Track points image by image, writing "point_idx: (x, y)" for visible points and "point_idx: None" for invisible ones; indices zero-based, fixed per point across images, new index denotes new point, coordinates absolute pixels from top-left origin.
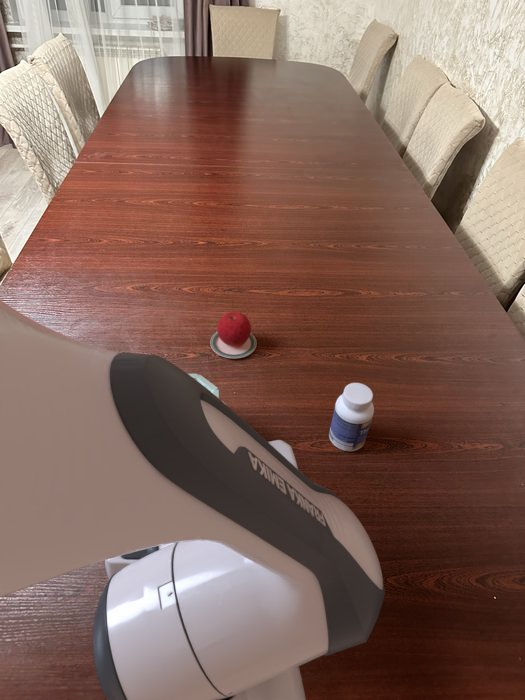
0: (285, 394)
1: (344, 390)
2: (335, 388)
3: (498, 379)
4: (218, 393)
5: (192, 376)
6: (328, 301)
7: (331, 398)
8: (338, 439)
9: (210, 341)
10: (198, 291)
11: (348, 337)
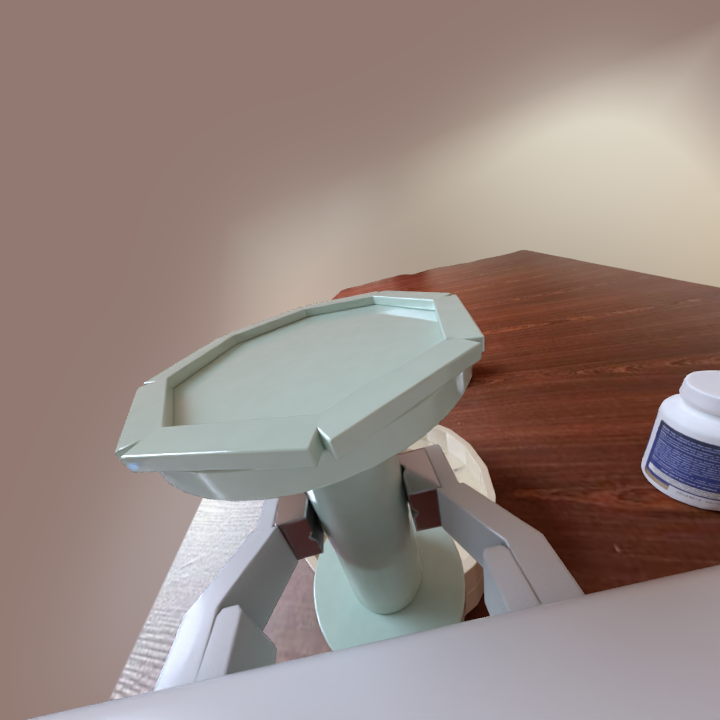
0: (530, 420)
1: (689, 384)
2: (604, 407)
3: None
4: (458, 300)
5: (362, 296)
6: (537, 330)
7: (606, 420)
8: (688, 486)
9: None
10: None
11: (582, 354)
